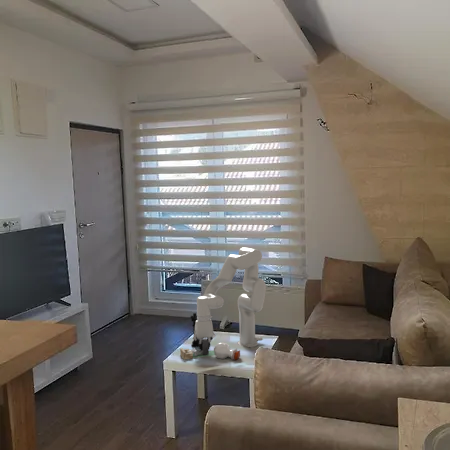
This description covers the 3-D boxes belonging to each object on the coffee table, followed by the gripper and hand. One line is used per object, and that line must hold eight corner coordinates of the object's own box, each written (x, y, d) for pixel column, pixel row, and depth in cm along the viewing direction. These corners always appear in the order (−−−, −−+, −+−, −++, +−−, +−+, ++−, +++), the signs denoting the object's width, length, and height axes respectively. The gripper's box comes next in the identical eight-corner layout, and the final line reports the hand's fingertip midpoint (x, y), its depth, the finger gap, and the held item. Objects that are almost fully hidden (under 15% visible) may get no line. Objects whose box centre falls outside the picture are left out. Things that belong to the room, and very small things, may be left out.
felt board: (219, 351, 280) (219, 349, 280) (223, 355, 273) (223, 353, 273) (180, 357, 272) (180, 355, 272) (183, 361, 265) (183, 359, 264)
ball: (190, 347, 271) (185, 351, 270) (192, 349, 268) (186, 353, 267) (193, 352, 272) (188, 356, 271) (195, 354, 269) (190, 358, 268)
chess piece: (203, 349, 284) (202, 316, 282) (190, 348, 286) (189, 316, 284) (206, 345, 292) (205, 313, 290) (194, 344, 293) (193, 312, 292)
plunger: (206, 351, 275) (206, 338, 275) (208, 354, 271) (208, 340, 271) (192, 353, 273) (192, 340, 272) (194, 356, 268) (194, 342, 268)
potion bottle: (214, 358, 272) (237, 366, 265) (208, 353, 264) (232, 361, 257) (220, 343, 276) (243, 350, 269) (214, 338, 268) (237, 345, 261)
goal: (188, 353, 274) (188, 347, 273) (192, 358, 266) (192, 351, 266) (180, 355, 272) (180, 348, 271) (184, 359, 264) (183, 352, 264)
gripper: (215, 314, 277) (215, 345, 279) (188, 318, 272) (188, 349, 273) (219, 318, 270) (220, 349, 272) (191, 321, 265) (192, 353, 266)
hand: (204, 348), depth 272 cm, fingers closed on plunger, 3 cm apart
